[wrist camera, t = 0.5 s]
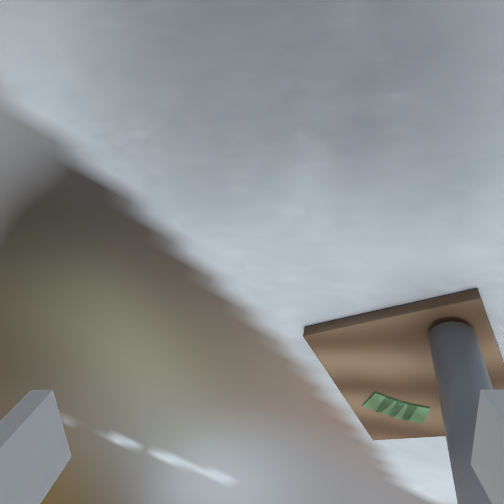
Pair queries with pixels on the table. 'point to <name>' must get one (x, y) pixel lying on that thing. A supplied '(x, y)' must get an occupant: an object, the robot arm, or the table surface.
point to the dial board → (399, 362)
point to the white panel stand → (460, 400)
